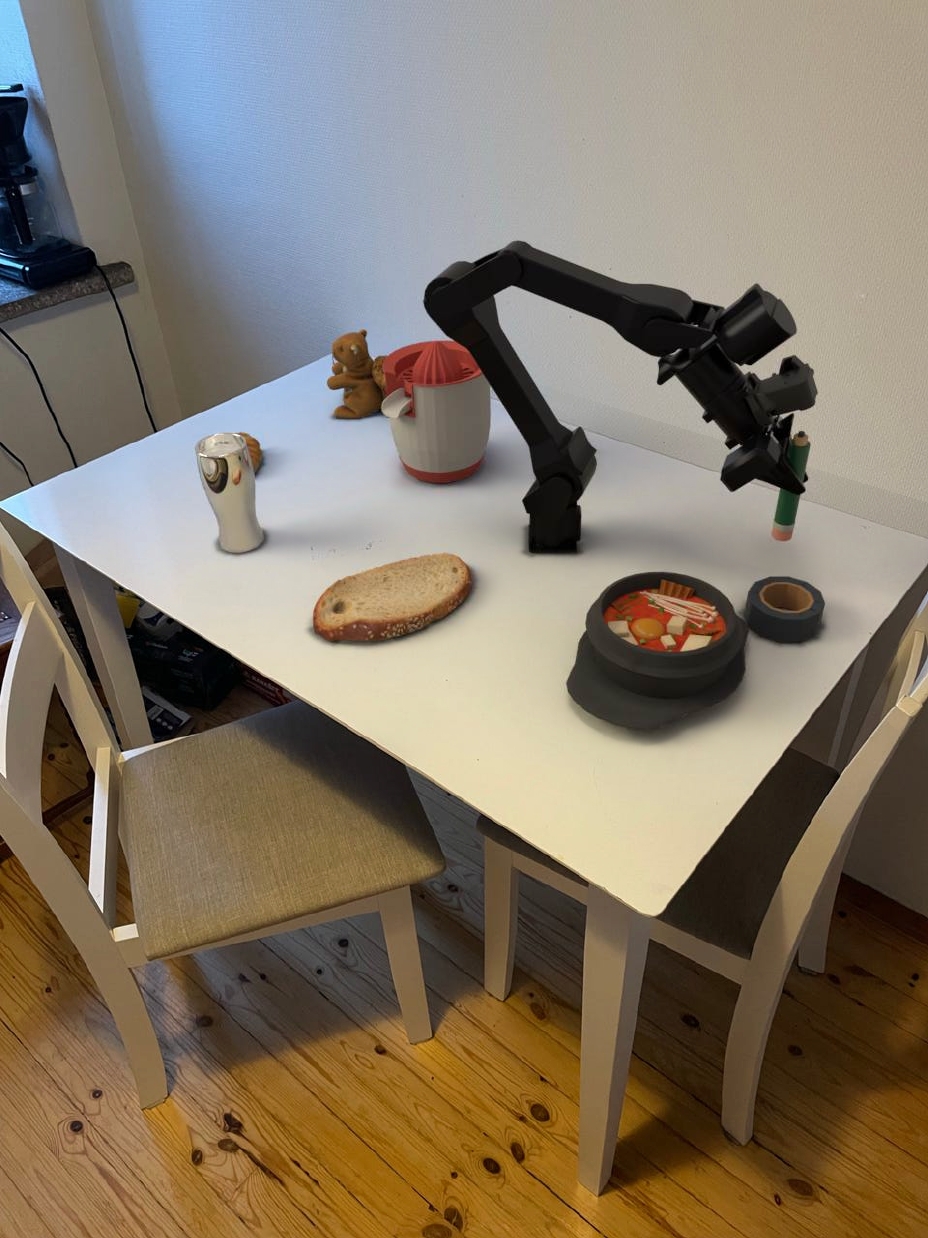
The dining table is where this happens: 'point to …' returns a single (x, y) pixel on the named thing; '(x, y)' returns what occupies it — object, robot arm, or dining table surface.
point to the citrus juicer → (437, 410)
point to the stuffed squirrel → (357, 376)
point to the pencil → (788, 500)
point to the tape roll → (782, 622)
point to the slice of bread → (392, 598)
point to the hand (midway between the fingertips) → (803, 487)
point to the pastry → (253, 450)
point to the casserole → (657, 651)
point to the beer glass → (230, 489)
